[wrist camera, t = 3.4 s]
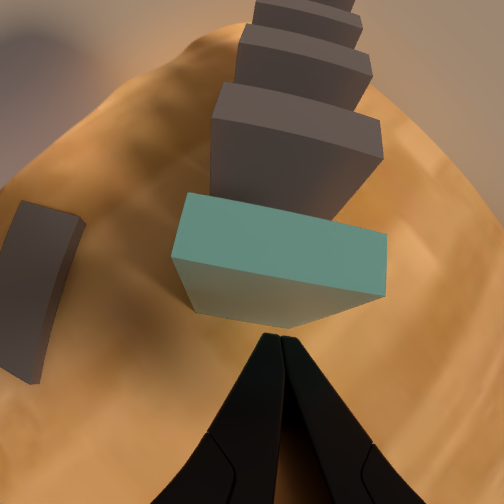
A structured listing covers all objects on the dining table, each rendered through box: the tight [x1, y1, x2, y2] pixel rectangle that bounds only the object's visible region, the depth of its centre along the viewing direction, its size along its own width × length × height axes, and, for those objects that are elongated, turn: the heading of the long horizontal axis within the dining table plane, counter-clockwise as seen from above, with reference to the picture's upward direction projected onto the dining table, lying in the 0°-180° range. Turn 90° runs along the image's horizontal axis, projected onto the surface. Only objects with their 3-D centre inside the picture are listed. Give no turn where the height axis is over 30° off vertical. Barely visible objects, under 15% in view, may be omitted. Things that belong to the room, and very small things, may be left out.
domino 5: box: [171, 192, 387, 329], centre depth 12 cm, size 2×5×10 cm, turn 81°
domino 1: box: [0, 201, 86, 385], centre depth 15 cm, size 10×5×2 cm, turn 167°
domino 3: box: [234, 23, 373, 111], centre depth 14 cm, size 2×5×10 cm, turn 81°
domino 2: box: [252, 0, 363, 49], centre depth 16 cm, size 2×5×10 cm, turn 81°
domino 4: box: [210, 82, 384, 221], centre depth 13 cm, size 2×5×10 cm, turn 81°
